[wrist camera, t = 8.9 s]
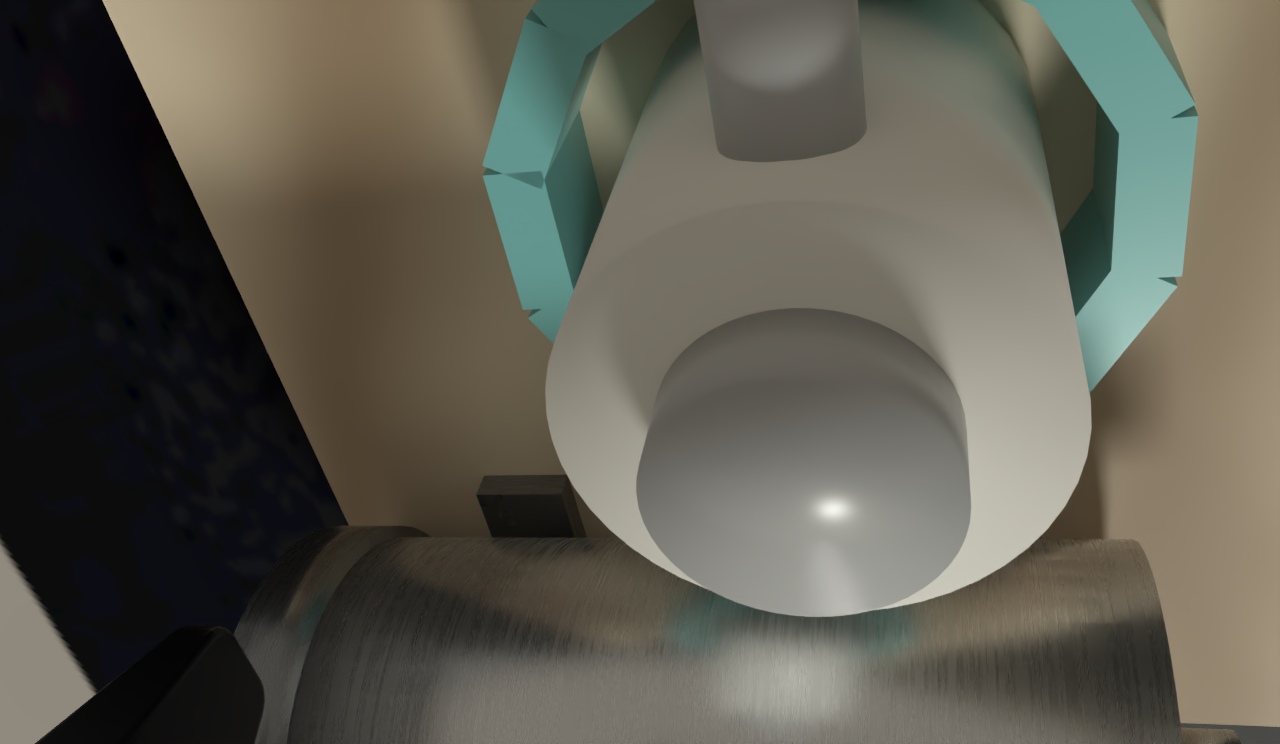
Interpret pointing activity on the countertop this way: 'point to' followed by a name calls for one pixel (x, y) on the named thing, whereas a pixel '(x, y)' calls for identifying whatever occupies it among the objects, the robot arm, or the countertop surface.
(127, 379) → the countertop surface
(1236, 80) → the mount board
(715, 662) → the cylinder
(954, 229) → the white capped canister
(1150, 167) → the ring
